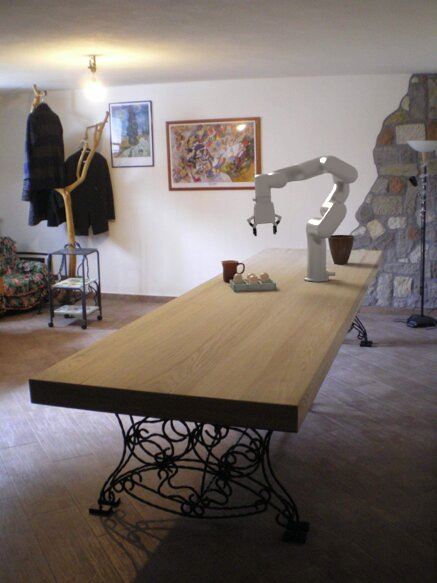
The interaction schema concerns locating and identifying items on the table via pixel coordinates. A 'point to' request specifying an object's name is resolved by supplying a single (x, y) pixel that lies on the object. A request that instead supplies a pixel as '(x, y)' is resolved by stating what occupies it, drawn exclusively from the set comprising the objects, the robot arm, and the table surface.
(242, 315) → the table surface
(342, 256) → the plant pot
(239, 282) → the carton
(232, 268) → the mug
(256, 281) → the egg
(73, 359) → the table surface
